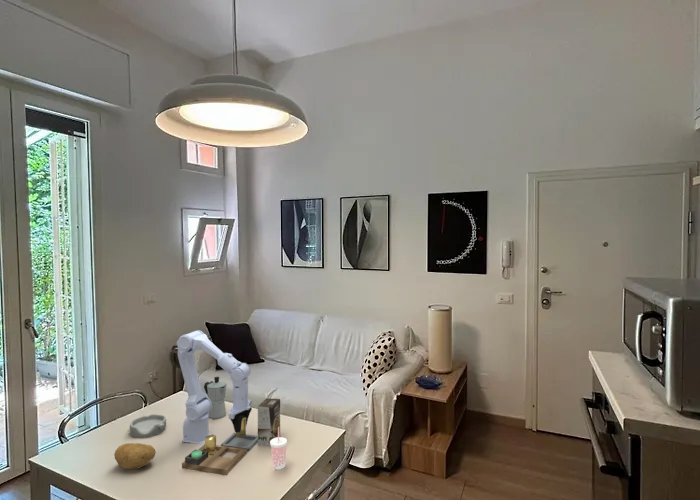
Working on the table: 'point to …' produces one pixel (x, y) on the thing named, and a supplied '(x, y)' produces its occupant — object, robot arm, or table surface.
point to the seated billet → (210, 444)
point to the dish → (147, 425)
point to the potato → (134, 455)
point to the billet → (242, 428)
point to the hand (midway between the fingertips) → (240, 429)
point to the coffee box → (268, 421)
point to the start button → (196, 454)
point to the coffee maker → (216, 398)
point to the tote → (241, 441)
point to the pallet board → (214, 460)
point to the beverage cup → (278, 451)
